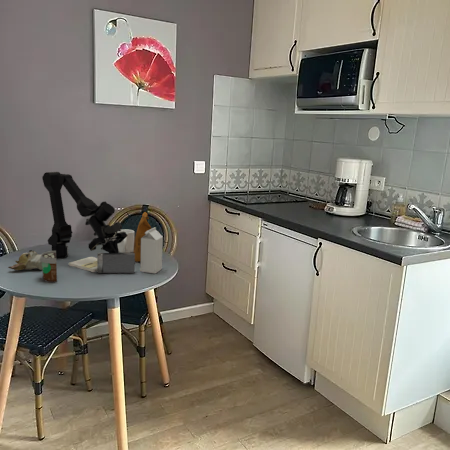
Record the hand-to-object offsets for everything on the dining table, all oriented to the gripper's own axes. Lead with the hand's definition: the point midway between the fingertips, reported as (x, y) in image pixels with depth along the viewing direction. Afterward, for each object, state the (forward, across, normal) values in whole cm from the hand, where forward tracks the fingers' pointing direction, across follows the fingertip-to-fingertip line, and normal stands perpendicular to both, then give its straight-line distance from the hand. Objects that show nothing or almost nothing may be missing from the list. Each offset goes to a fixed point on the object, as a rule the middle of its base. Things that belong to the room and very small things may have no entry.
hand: (118, 256), depth 195 cm
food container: (-6, -24, +16) cm, 29 cm away
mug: (-8, +25, +18) cm, 32 cm away
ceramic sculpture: (-16, -20, +27) cm, 38 cm away
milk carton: (+12, +10, -2) cm, 16 cm away
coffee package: (+2, +22, +8) cm, 23 cm away
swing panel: (+5, -2, +4) cm, 6 cm away
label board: (-6, -1, +15) cm, 16 cm away
